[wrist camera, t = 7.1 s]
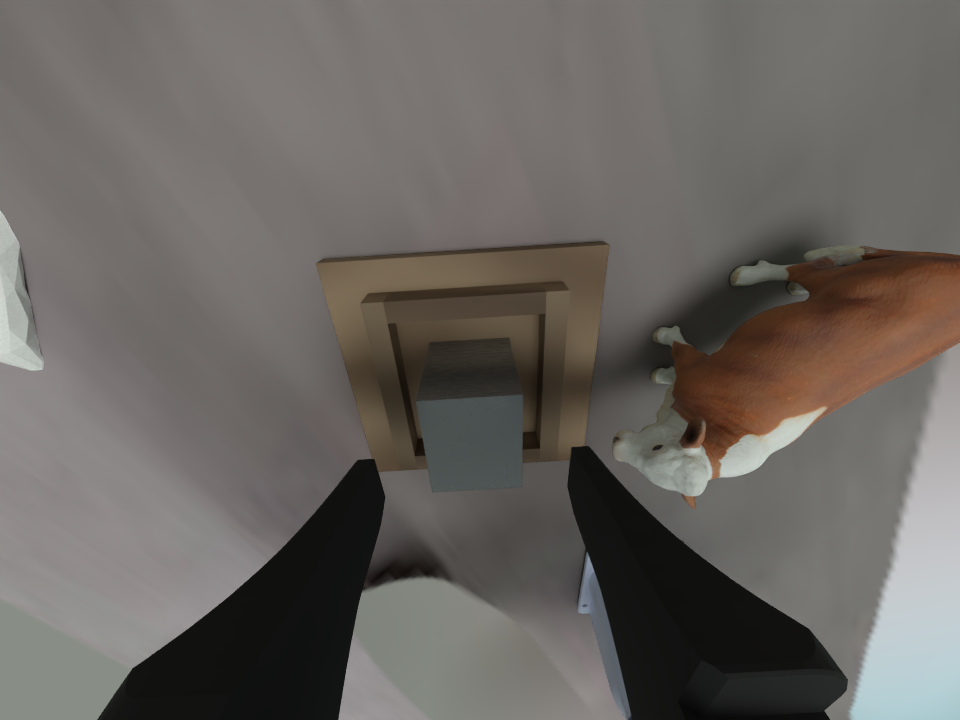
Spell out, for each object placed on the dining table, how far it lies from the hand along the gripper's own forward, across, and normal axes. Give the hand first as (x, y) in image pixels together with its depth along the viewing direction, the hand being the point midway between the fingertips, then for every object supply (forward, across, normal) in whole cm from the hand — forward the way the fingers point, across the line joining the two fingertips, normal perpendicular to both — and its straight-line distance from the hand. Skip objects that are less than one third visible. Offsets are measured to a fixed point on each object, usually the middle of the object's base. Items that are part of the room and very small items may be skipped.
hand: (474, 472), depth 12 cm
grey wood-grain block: (+6, 0, 0) cm, 6 cm away
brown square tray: (+7, 0, 0) cm, 7 cm away
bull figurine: (+8, -12, -2) cm, 14 cm away
